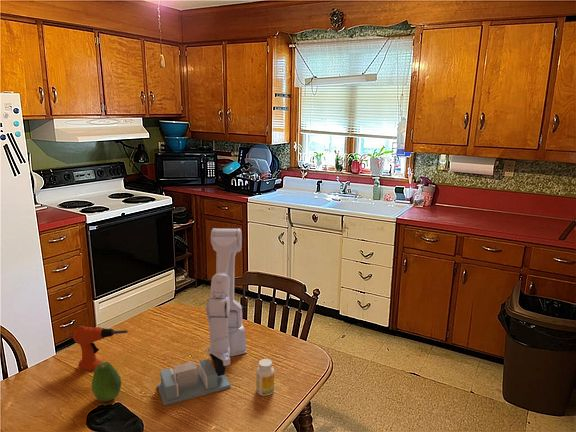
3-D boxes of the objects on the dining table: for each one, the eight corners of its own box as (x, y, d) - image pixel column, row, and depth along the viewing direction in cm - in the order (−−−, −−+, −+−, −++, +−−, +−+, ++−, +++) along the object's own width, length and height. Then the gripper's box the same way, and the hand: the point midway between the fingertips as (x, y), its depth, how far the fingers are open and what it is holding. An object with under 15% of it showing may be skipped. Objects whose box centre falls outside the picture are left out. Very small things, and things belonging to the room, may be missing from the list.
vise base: (220, 370, 142) (220, 355, 140) (230, 387, 133) (230, 371, 132) (157, 386, 133) (156, 370, 132) (163, 406, 124) (162, 389, 123)
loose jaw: (209, 371, 139) (208, 358, 138) (217, 386, 132) (216, 373, 130) (198, 373, 138) (197, 361, 137) (206, 389, 130) (205, 376, 129)
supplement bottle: (253, 392, 131) (252, 364, 128) (262, 383, 135) (262, 355, 133) (268, 398, 128) (268, 369, 126) (277, 388, 133) (277, 360, 130)
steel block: (194, 379, 135) (193, 361, 133) (198, 387, 131) (197, 367, 130) (175, 385, 132) (174, 366, 131) (178, 392, 129) (176, 373, 127)
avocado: (87, 403, 125) (83, 366, 122) (108, 388, 132) (104, 352, 129) (108, 411, 122) (104, 373, 119) (128, 394, 129) (125, 358, 126)
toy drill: (131, 369, 139) (122, 326, 136) (76, 372, 141) (65, 331, 138) (138, 360, 144) (128, 319, 141) (84, 364, 146) (74, 323, 143)
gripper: (199, 327, 138) (201, 365, 141) (213, 349, 125) (214, 390, 128) (221, 322, 141) (222, 360, 144) (236, 343, 128) (237, 384, 131)
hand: (220, 374), depth 136 cm, fingers closed
